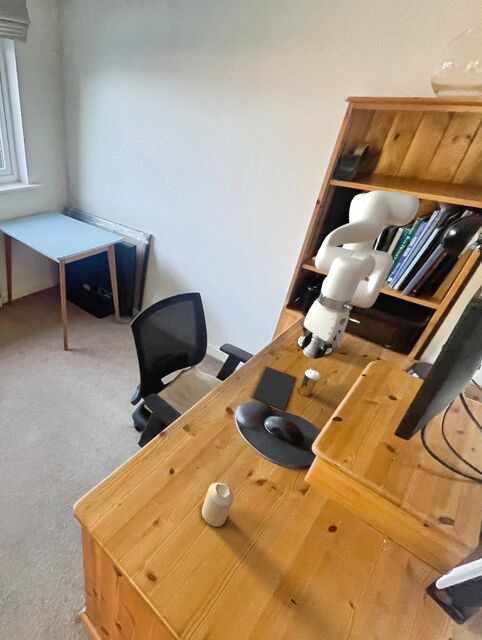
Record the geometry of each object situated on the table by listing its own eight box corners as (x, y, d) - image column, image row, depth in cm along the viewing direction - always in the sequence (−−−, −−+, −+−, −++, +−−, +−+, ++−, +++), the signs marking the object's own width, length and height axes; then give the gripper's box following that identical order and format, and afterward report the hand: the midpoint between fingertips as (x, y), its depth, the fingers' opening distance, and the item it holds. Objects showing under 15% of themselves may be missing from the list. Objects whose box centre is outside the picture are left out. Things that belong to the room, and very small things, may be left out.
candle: (212, 531, 78) (221, 506, 73) (196, 509, 82) (204, 484, 77) (230, 520, 81) (240, 495, 75) (214, 499, 85) (222, 474, 79)
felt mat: (266, 367, 130) (266, 366, 130) (294, 378, 125) (295, 377, 125) (252, 397, 116) (252, 397, 116) (283, 411, 111) (284, 410, 111)
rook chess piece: (299, 351, 108) (308, 329, 104) (312, 350, 109) (321, 328, 105) (308, 359, 105) (318, 338, 101) (321, 358, 106) (331, 337, 101)
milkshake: (307, 387, 121) (318, 364, 116) (314, 397, 117) (324, 375, 112) (294, 385, 122) (304, 363, 116) (300, 396, 117) (310, 373, 112)
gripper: (371, 314, 91) (343, 367, 101) (319, 286, 105) (300, 336, 114) (349, 318, 89) (324, 372, 99) (300, 289, 102) (282, 339, 112)
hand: (311, 352), depth 107 cm, fingers closed on rook chess piece, 4 cm apart
